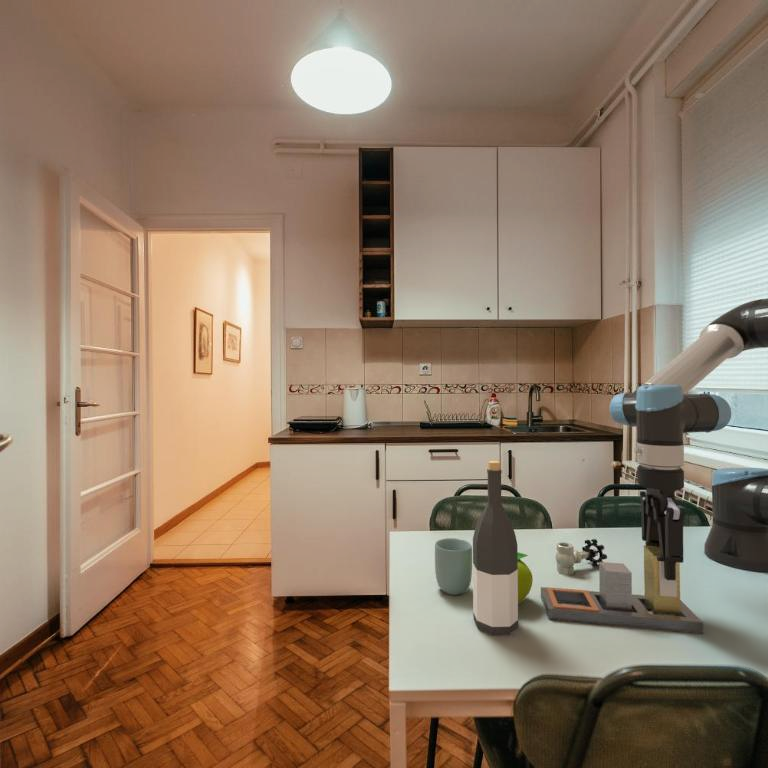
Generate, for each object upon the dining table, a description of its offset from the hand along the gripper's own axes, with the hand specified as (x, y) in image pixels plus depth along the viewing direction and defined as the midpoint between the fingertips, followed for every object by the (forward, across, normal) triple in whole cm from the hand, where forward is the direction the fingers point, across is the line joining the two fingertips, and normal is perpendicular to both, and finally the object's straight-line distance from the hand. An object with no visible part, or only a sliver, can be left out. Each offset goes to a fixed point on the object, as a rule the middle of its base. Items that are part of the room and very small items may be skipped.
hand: (661, 588), depth 83 cm
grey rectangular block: (+5, 0, -8) cm, 10 cm away
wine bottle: (+5, +8, -31) cm, 33 cm away
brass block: (+4, 0, 0) cm, 4 cm away
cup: (+5, -4, -39) cm, 40 cm away
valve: (+6, -20, -10) cm, 23 cm away
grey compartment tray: (+5, 0, -8) cm, 10 cm away
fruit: (+5, -1, -28) cm, 29 cm away
